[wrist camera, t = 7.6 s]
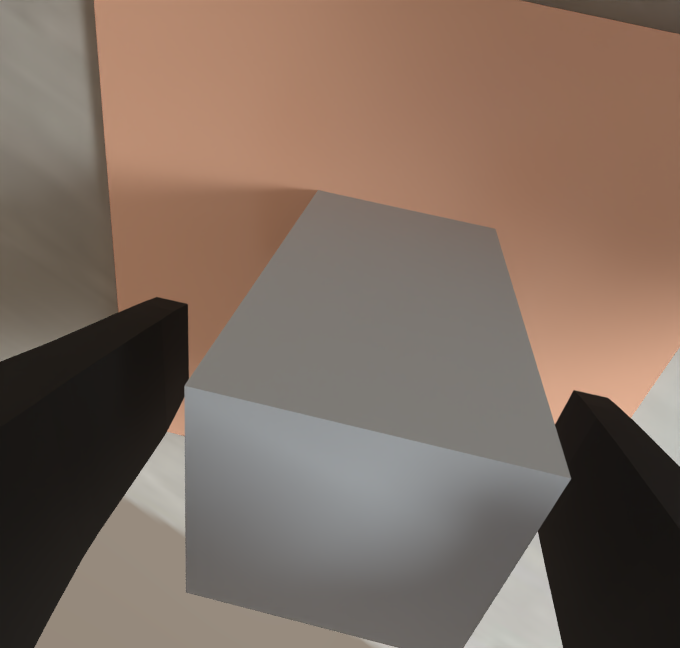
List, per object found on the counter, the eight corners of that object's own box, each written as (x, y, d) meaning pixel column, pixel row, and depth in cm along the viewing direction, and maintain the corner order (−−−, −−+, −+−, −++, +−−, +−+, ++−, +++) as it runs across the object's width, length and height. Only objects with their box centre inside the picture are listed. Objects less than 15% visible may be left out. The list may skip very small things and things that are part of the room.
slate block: (495, 228, 11) (570, 478, 5) (444, 370, 13) (454, 662, 7) (318, 190, 11) (184, 385, 5) (296, 336, 13) (186, 592, 7)
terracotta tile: (835, 70, 9) (868, 73, 8) (548, 508, 16) (553, 529, 15) (110, -84, 10) (86, -92, 9) (139, 405, 17) (127, 421, 16)
